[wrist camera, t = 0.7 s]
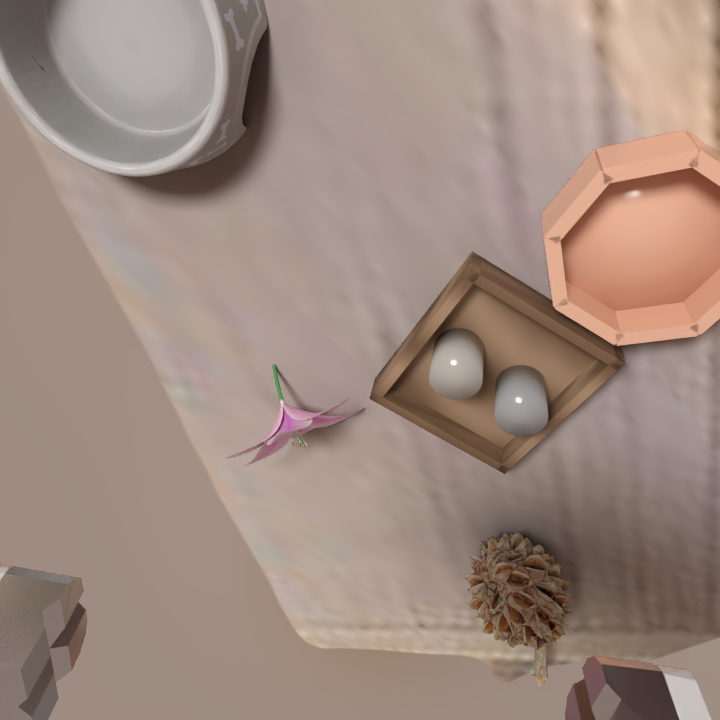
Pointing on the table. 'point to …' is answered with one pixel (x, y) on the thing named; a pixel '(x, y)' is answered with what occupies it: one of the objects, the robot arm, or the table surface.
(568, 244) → the bowl
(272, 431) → the lily
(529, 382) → the grey rounded cylinder
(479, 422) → the tray
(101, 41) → the dog bowl
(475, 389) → the pebble
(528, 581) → the pine cone
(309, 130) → the table surface
